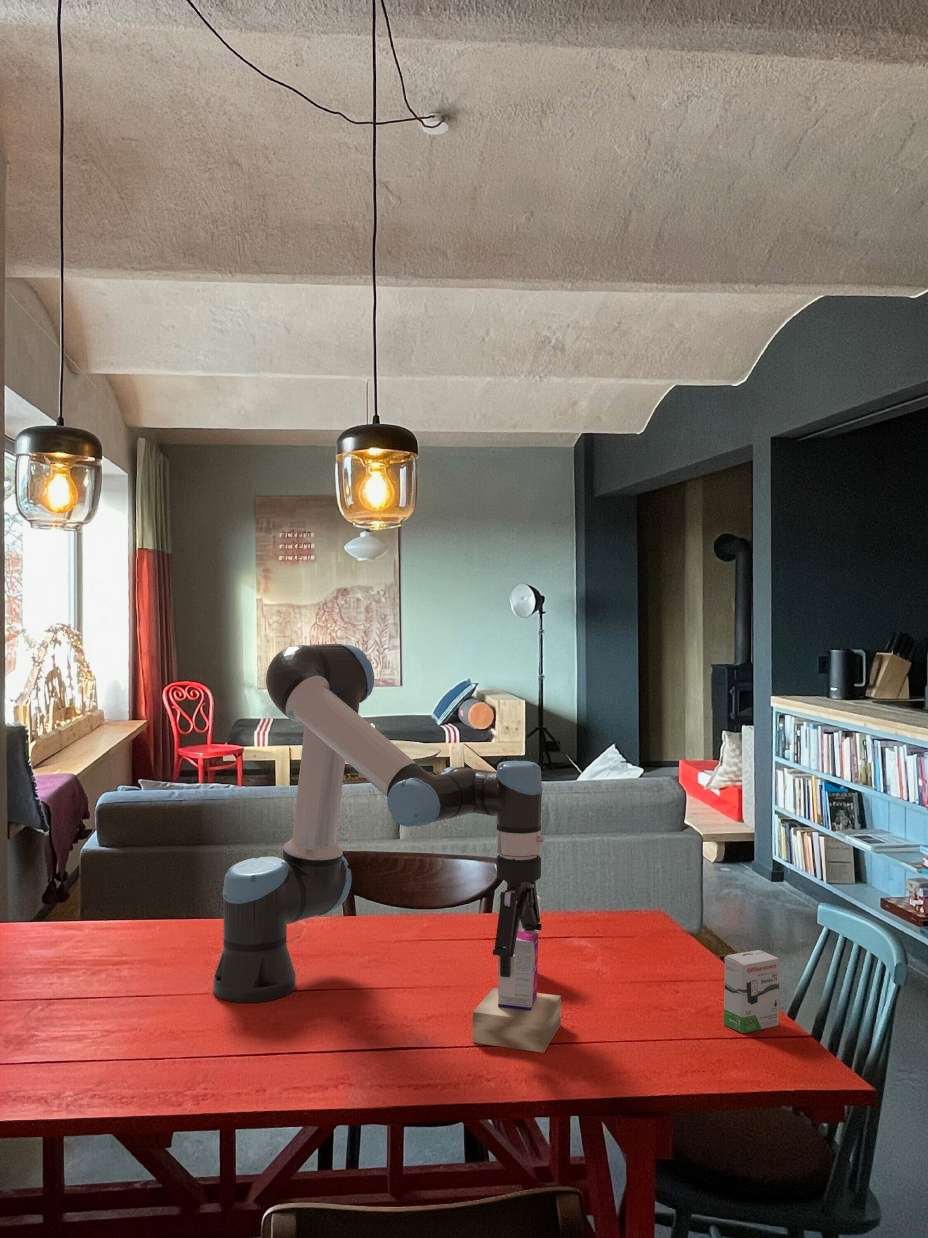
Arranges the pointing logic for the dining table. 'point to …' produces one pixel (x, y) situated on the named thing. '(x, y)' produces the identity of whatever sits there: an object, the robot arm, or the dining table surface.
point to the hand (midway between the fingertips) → (517, 981)
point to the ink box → (751, 991)
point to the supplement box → (524, 973)
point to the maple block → (517, 1023)
